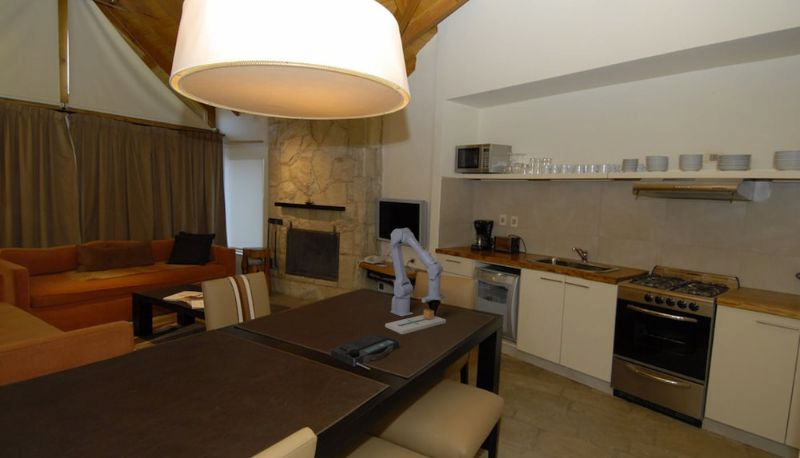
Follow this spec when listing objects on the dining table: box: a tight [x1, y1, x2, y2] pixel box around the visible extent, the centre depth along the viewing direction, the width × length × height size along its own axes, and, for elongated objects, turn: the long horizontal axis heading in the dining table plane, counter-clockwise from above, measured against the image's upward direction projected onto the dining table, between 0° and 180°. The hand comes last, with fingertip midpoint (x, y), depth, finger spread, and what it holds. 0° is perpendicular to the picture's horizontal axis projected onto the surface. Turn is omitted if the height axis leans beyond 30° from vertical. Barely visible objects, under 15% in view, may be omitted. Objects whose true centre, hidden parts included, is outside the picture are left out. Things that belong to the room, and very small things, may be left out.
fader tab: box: [423, 307, 435, 319], centre depth 196 cm, size 4×3×4 cm
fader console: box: [384, 314, 447, 335], centre depth 191 cm, size 12×28×2 cm, turn 130°
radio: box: [329, 332, 400, 371], centre depth 155 cm, size 25×4×20 cm
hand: (433, 314), depth 198 cm, fingers closed
